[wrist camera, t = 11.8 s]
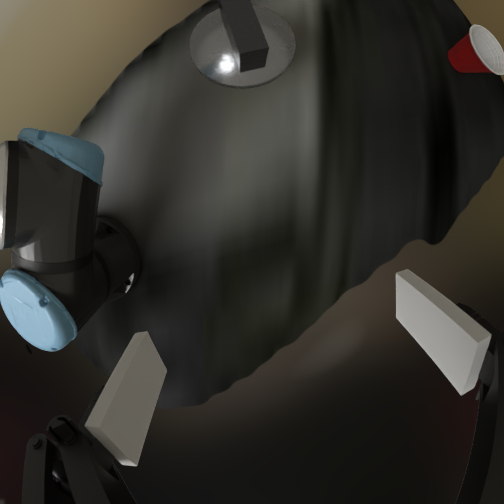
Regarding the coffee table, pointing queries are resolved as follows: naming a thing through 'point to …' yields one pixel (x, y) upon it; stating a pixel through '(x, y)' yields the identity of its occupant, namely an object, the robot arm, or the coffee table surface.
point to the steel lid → (242, 45)
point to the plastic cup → (477, 53)
